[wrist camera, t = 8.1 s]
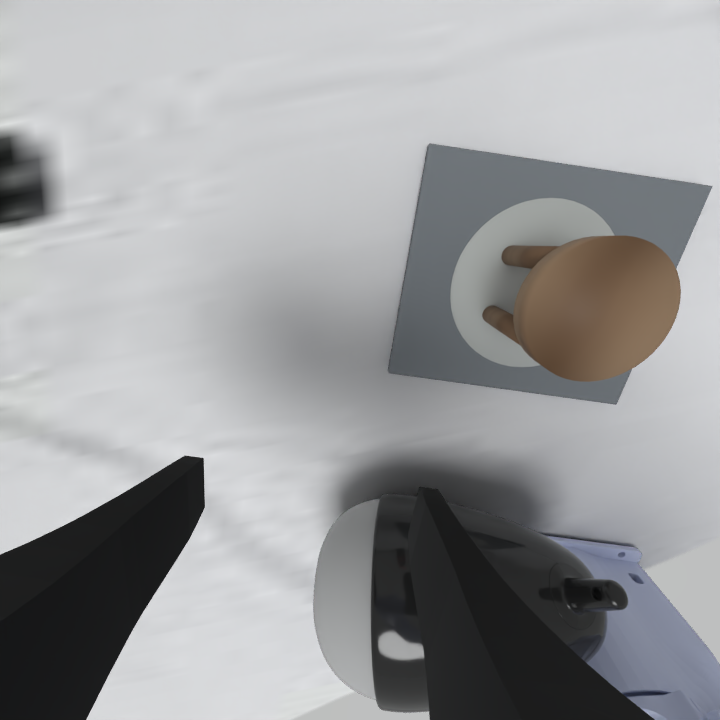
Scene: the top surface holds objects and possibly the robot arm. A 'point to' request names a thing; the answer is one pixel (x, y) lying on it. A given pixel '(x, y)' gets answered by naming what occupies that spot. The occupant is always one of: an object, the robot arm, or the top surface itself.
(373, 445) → the top surface
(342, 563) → the black ball
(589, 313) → the stool
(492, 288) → the mat
